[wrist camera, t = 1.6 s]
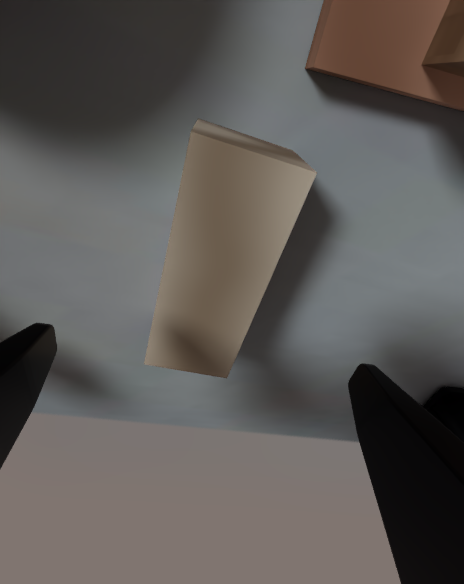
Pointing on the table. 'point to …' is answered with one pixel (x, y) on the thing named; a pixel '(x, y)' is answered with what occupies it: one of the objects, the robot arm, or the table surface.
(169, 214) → the table surface
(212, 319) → the block
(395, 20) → the cradle
